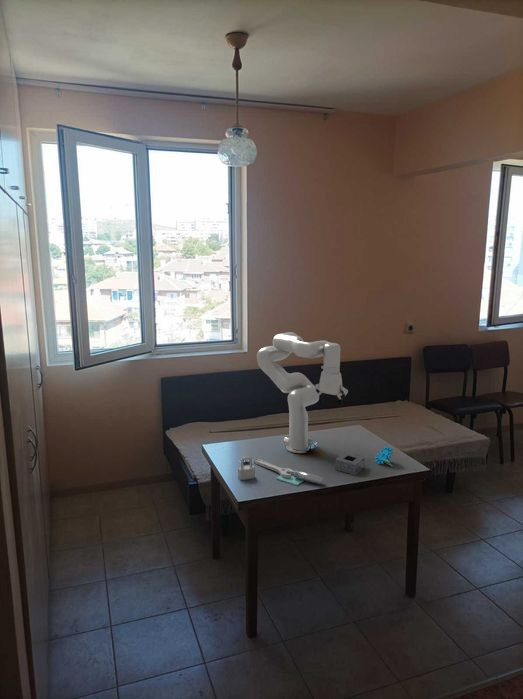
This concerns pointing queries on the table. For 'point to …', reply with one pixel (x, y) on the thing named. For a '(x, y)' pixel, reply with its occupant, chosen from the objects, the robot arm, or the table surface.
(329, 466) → the table surface
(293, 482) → the mat
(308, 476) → the metal cylinder
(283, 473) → the adjustable wrench
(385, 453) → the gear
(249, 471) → the padlock
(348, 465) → the block
